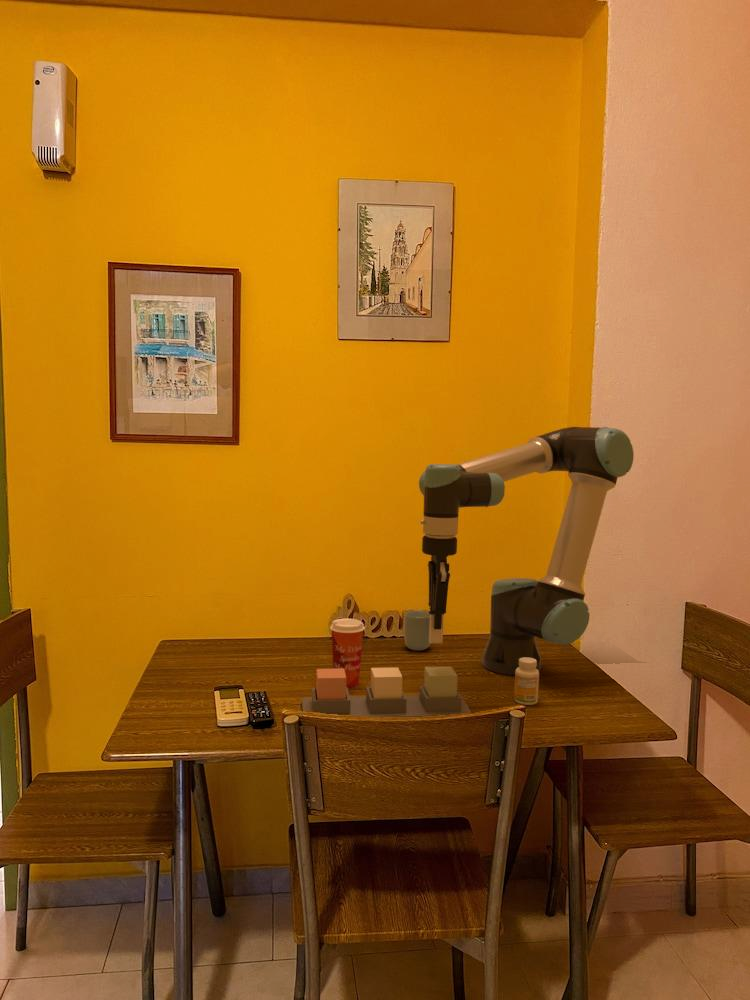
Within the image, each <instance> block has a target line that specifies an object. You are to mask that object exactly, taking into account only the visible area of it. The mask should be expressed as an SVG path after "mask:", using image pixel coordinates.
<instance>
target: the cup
mask: <svg viewBox="0 0 750 1000" xmlns="http://www.w3.org/2000/svg"><path fill="white" fill-rule="evenodd" d="M403 624H404V626H403V636H404V637H403V638H404V643H405V645H406V647H407V648H408V649H409V650H411V651H418V652H420V651H425V650H427V649H428V648H429V647H430V645H431V643H430V642H429V630H430V614H429V611H426V610H418V609H417V610H415V609H414V610H412V609H411V610H407V611H406V612H405V613H404V621H403Z"/></svg>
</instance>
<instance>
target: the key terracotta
mask: <svg viewBox="0 0 750 1000" xmlns="http://www.w3.org/2000/svg"><path fill="white" fill-rule="evenodd" d="M315 686H316V687H315V688H316V693H317V700H339V699H346V674H345V670H344V668H339V669H333V668H316V685H315Z"/></svg>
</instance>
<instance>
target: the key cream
mask: <svg viewBox="0 0 750 1000" xmlns="http://www.w3.org/2000/svg"><path fill="white" fill-rule="evenodd" d="M370 687H371V692H372V696H373V699H383V698H402V690H403V675H402V673H401V671H400V669H399V667H371V668H370Z"/></svg>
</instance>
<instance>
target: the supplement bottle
mask: <svg viewBox="0 0 750 1000" xmlns="http://www.w3.org/2000/svg"><path fill="white" fill-rule="evenodd" d="M519 666H520V667H518V668H517V669H516V671H515V675H514V690H513V691H514V694H513V695H514V696H513V699H514V701H515V702H516V703H518V704H520V705H524V706H533V705H536V704H538V701H539V690H540V689H539V687H540V671H538V670H537V669H536V666H537V660H536V659H533V658H529V657H523V658H520V659H519Z"/></svg>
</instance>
